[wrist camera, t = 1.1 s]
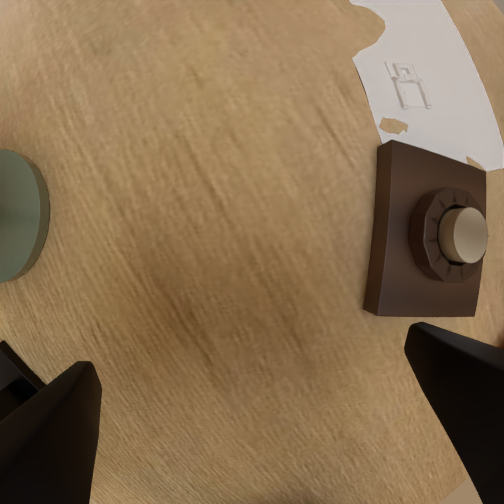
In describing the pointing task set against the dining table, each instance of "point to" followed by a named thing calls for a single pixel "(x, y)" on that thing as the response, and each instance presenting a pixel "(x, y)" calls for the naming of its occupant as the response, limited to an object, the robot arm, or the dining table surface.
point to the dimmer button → (463, 235)
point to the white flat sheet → (428, 83)
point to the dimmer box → (420, 234)
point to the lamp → (21, 214)
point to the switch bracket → (15, 381)
